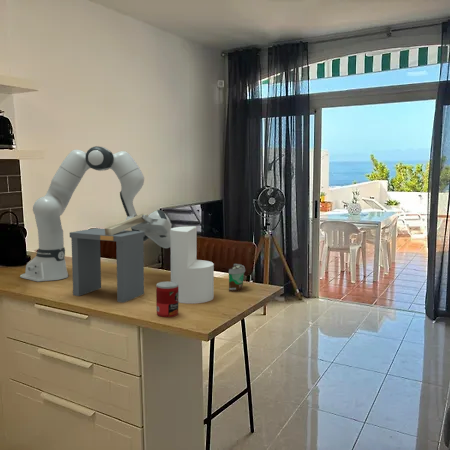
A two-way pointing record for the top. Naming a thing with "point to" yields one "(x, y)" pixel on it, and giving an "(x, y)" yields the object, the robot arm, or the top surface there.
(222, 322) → the top surface
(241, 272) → the food container
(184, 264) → the white stepped pillar
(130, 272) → the grey step stool
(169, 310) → the canned food
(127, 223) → the bar
